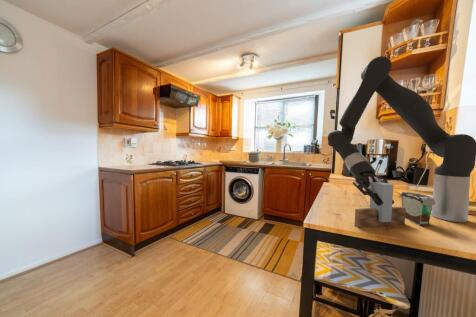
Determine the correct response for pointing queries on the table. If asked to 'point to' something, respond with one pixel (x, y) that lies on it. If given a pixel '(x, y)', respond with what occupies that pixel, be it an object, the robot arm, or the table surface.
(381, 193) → the slate block
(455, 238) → the table surface
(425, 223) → the food container
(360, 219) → the walnut board
